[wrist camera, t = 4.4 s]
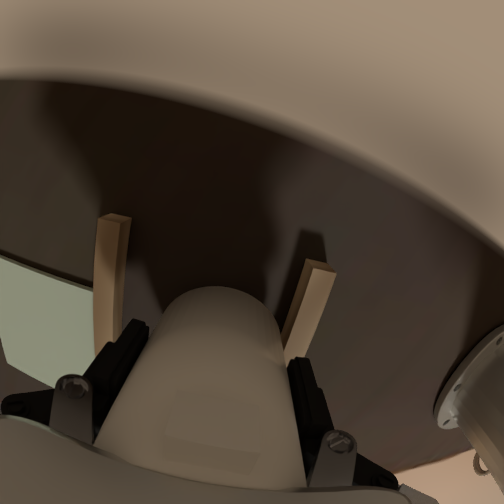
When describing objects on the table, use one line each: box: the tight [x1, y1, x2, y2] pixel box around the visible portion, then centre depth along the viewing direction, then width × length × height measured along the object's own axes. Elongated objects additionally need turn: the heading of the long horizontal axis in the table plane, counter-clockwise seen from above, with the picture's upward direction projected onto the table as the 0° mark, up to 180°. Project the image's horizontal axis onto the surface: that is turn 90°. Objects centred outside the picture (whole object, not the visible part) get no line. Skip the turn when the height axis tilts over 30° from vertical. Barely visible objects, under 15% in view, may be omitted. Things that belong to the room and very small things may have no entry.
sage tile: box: [0, 255, 95, 388], centre depth 15 cm, size 10×10×1 cm
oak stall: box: [93, 213, 337, 368], centre depth 14 cm, size 11×11×2 cm
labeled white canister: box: [93, 286, 307, 490], centre depth 9 cm, size 6×8×9 cm
